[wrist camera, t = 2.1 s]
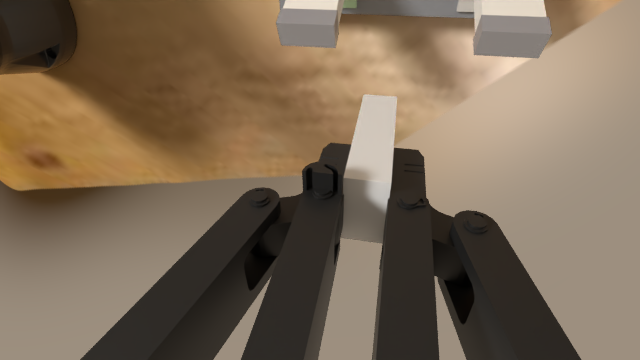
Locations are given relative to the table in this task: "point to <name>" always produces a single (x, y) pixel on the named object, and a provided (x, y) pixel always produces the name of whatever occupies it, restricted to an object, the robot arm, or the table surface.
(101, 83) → the table surface
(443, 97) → the table surface
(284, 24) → the lever
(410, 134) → the table surface
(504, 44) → the lever
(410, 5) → the console
